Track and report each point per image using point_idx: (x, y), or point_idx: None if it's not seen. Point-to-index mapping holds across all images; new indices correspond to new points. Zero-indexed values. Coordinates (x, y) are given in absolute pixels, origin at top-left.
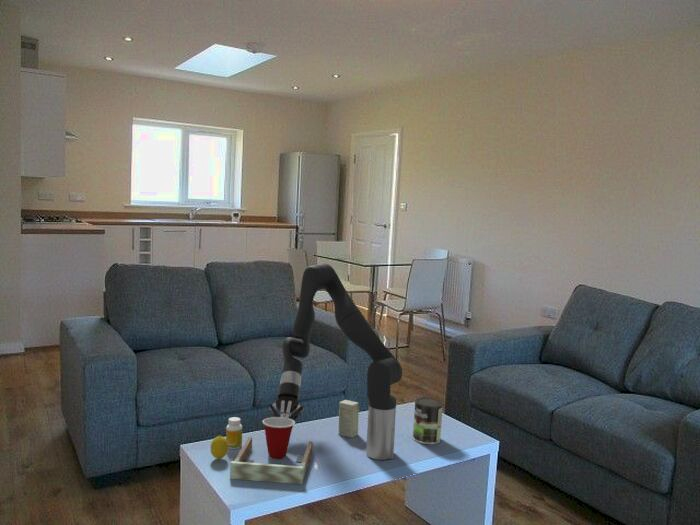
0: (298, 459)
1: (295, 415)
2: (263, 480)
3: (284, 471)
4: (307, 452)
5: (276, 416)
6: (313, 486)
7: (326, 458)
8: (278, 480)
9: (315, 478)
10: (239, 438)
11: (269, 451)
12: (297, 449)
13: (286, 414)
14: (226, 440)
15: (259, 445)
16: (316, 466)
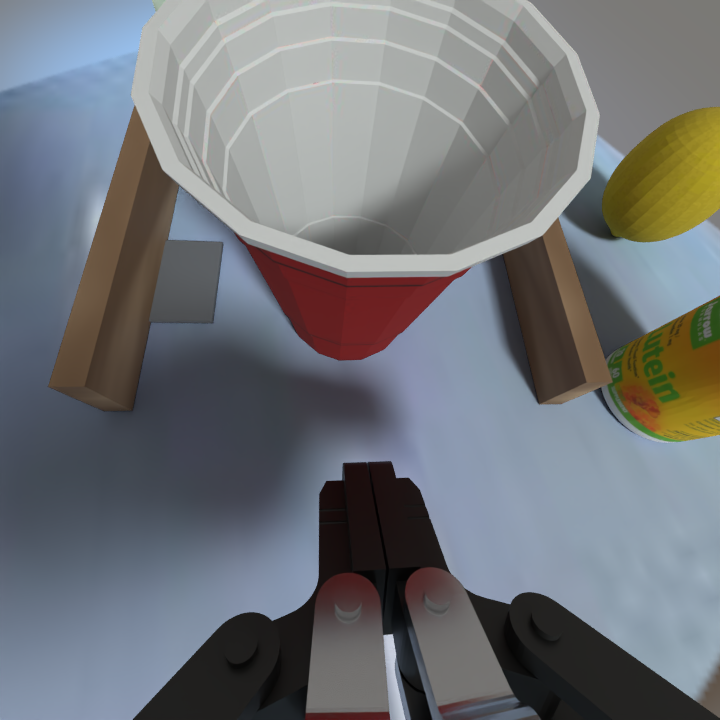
0: (206, 271)
1: (147, 708)
2: None
3: None
4: (118, 196)
5: (545, 606)
6: (131, 65)
7: (6, 319)
8: None
9: (115, 115)
10: (655, 340)
11: (392, 252)
12: (222, 428)
13: (372, 698)
14: (678, 150)
15: (505, 443)
16: (96, 216)
